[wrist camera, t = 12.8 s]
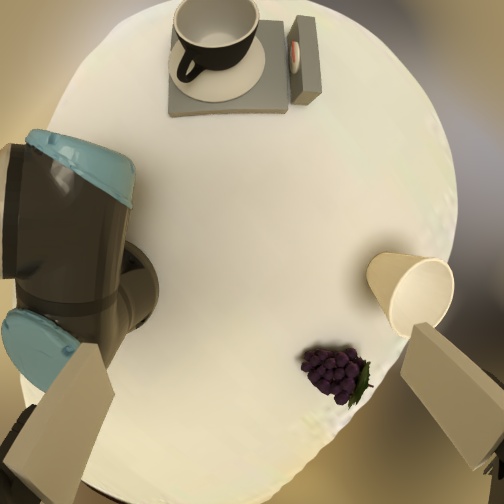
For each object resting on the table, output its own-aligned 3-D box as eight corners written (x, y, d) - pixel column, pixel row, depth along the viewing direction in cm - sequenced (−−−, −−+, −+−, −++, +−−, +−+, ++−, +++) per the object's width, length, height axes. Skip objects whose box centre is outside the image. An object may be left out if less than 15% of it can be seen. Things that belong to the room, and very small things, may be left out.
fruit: (310, 329, 50) (380, 352, 48) (288, 377, 50) (356, 398, 49) (317, 347, 40) (398, 373, 38) (288, 404, 40) (368, 424, 39)
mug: (210, 17, 29) (206, -22, 19) (264, 43, 31) (275, 6, 21) (159, 79, 31) (138, 51, 22) (215, 108, 33) (210, 84, 23)
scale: (171, 117, 36) (160, 105, 29) (175, 31, 32) (167, 9, 25) (307, 114, 37) (322, 103, 31) (301, 30, 34) (313, 9, 27)
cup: (341, 295, 45) (374, 332, 33) (369, 227, 42) (413, 245, 30) (393, 310, 47) (430, 343, 35) (419, 250, 44) (465, 271, 32)
